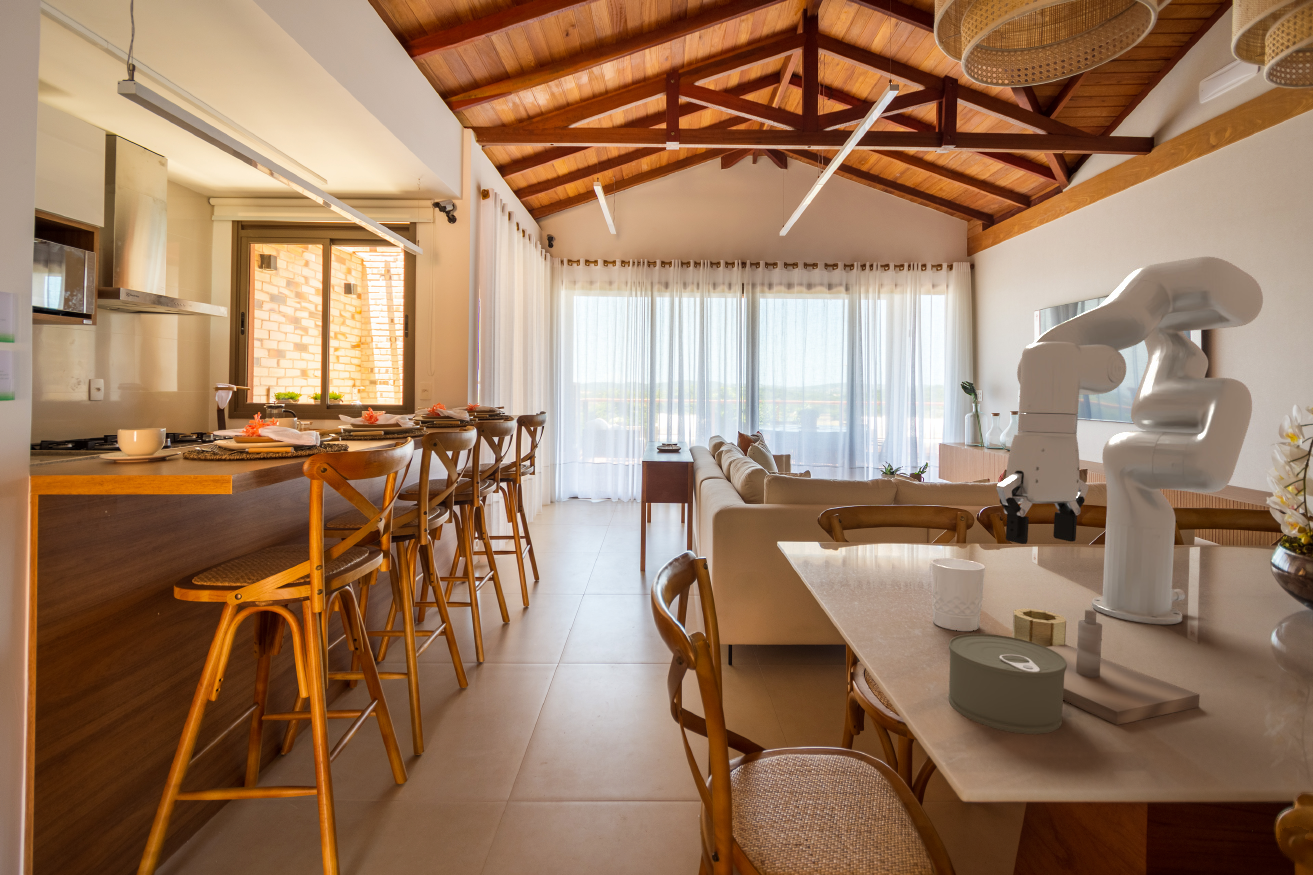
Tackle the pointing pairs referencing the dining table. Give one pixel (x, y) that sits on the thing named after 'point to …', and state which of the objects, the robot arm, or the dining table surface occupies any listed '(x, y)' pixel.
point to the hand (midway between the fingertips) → (1040, 540)
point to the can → (1006, 683)
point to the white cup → (957, 593)
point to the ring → (1039, 627)
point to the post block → (1115, 682)
